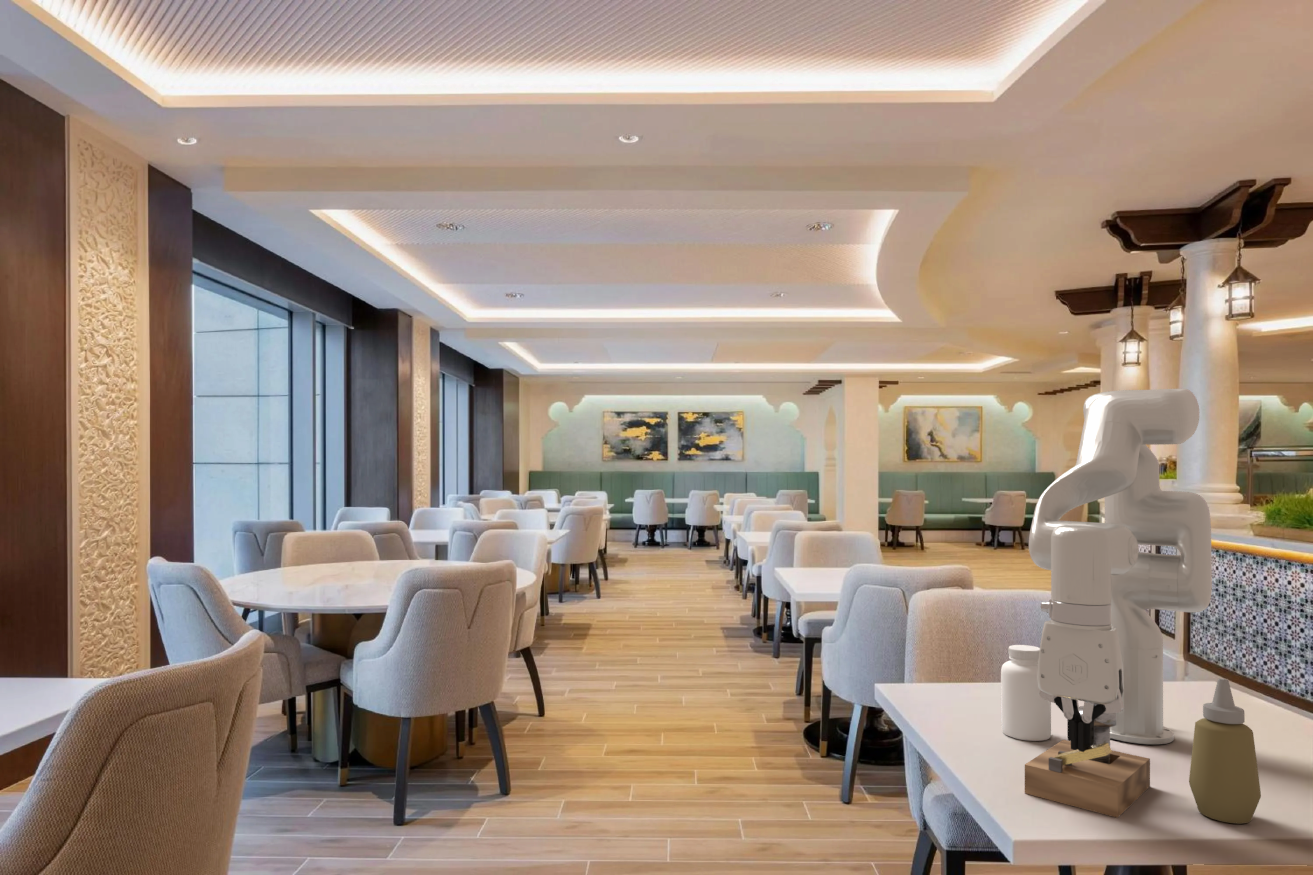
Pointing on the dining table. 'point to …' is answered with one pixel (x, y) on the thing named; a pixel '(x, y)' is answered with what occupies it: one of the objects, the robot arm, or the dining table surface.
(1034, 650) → the pill bottle
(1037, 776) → the block
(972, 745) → the dining table surface
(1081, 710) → the steel pin
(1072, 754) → the bar
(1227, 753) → the squeeze bottle
